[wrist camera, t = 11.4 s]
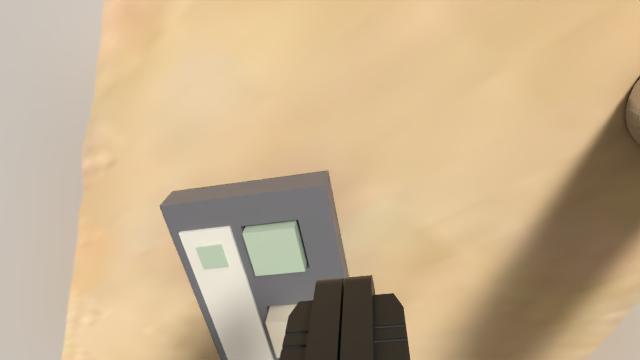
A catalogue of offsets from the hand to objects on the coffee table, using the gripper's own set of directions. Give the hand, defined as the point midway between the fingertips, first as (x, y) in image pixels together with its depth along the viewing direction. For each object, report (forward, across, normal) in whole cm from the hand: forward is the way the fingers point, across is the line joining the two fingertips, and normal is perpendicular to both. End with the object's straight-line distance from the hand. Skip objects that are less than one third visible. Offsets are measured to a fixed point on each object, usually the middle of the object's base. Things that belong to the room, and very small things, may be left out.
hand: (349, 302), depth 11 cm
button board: (+27, +12, +24) cm, 38 cm away
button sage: (+27, +10, +14) cm, 32 cm away
